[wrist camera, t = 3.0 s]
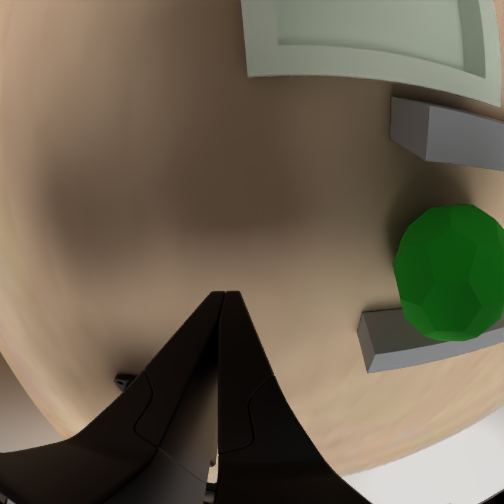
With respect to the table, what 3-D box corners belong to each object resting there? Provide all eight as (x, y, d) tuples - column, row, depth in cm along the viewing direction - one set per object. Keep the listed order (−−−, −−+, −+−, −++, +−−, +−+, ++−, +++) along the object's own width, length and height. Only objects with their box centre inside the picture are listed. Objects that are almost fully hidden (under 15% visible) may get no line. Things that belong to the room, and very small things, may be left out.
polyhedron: (444, 287, 12) (485, 362, 8) (361, 279, 12) (393, 373, 8) (486, 197, 9) (555, 261, 5) (400, 168, 9) (477, 239, 5)
